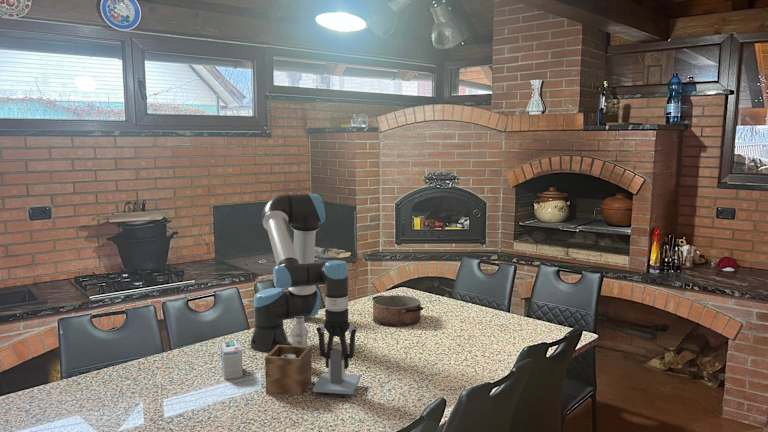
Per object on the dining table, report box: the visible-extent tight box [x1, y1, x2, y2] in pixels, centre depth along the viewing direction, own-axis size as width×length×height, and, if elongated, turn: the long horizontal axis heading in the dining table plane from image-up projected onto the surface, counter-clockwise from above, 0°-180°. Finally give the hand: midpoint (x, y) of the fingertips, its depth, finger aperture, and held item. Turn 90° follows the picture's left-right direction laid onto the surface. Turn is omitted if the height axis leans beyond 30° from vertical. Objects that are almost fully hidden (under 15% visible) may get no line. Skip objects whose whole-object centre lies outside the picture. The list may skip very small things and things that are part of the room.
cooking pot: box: [371, 294, 424, 328], centre depth 266 cm, size 30×22×11 cm
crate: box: [264, 345, 312, 396], centre depth 190 cm, size 12×12×14 cm
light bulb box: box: [220, 340, 244, 380], centre depth 204 cm, size 11×7×11 cm, turn 21°
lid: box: [312, 346, 361, 395], centre depth 186 cm, size 13×13×13 cm
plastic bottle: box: [290, 316, 309, 347], centre depth 208 cm, size 6×7×20 cm
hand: (337, 377), depth 187 cm, fingers closed on lid, 4 cm apart
